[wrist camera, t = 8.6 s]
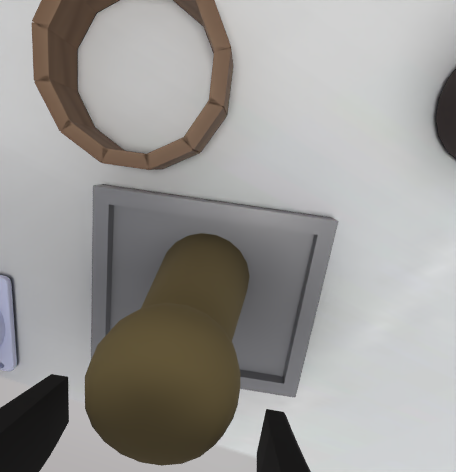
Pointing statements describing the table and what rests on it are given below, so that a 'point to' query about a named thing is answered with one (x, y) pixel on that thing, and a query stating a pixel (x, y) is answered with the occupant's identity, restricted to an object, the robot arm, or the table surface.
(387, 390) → the table surface
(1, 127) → the table surface
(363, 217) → the table surface
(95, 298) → the tray
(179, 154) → the ring
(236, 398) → the pepper mill
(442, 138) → the vinegar
